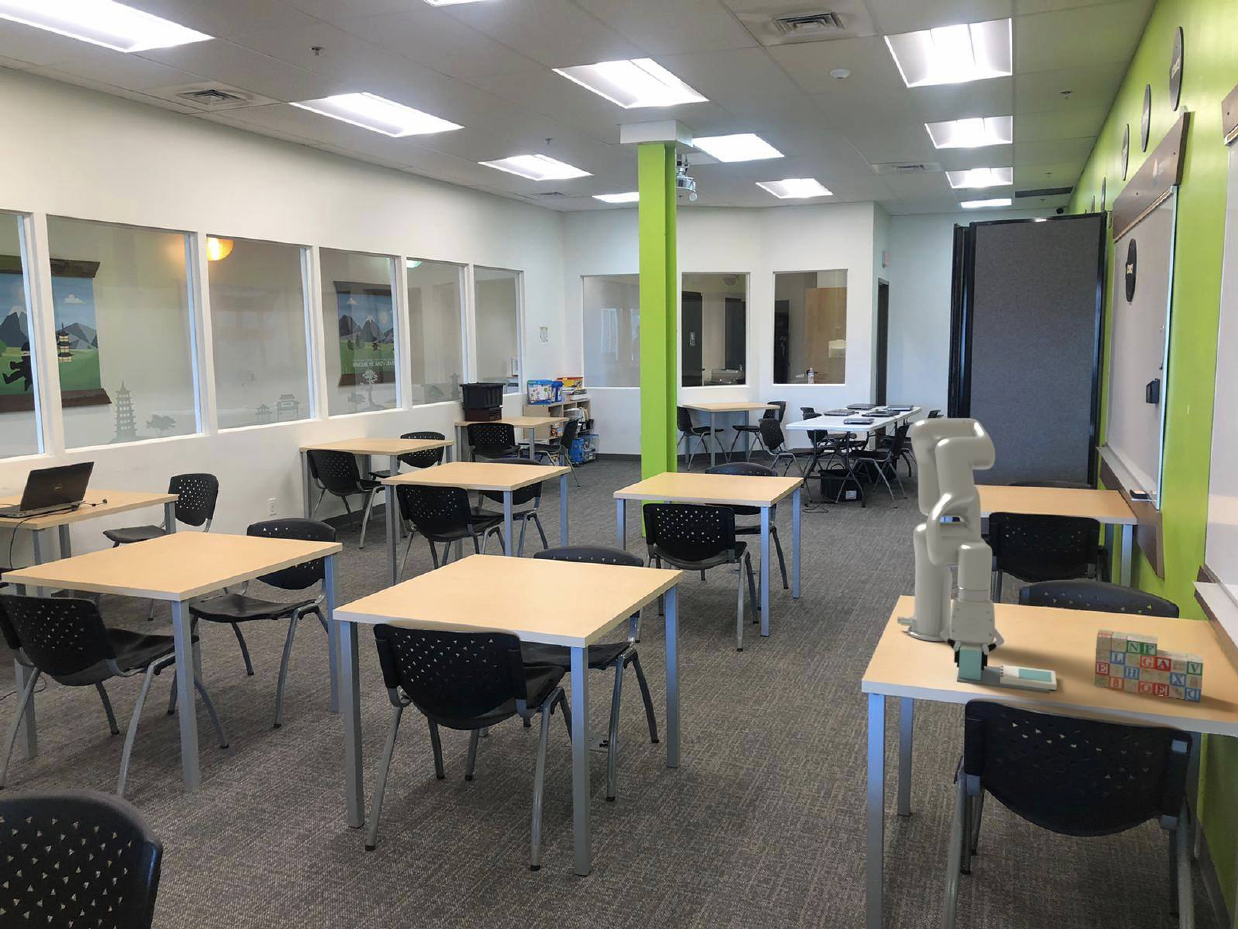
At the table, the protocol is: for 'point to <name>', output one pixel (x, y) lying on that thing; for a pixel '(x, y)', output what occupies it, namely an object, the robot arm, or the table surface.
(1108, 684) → the stack of blocks
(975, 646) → the teal rectangular block
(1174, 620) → the table surface
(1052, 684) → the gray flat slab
